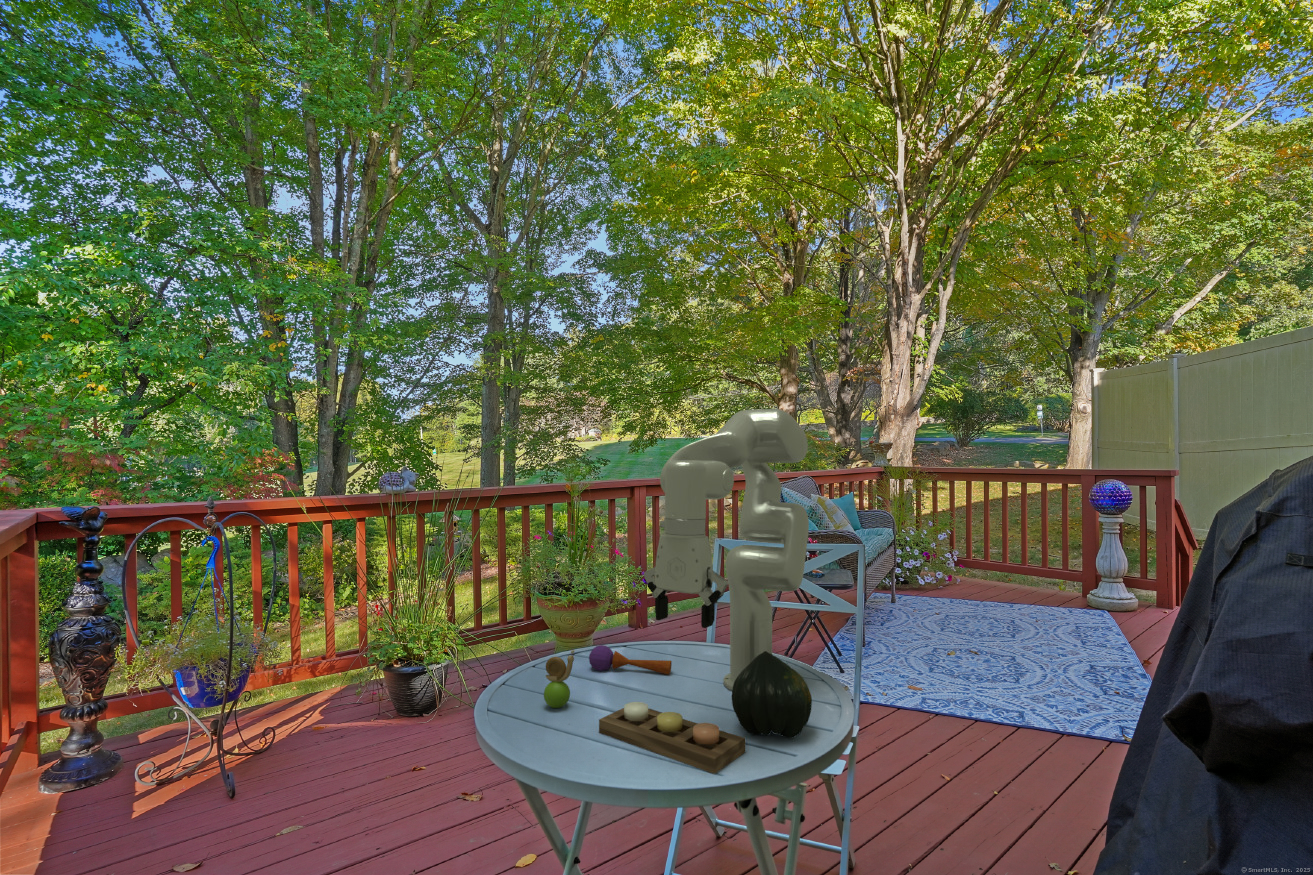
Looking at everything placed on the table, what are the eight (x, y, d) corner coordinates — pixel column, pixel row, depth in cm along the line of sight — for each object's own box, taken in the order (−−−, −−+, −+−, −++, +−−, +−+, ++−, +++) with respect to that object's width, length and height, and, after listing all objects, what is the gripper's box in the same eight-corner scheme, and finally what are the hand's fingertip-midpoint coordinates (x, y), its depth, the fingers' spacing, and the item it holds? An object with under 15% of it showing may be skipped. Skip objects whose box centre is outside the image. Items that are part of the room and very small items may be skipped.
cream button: (634, 709, 129) (634, 699, 129) (653, 714, 126) (653, 705, 126) (619, 716, 126) (619, 707, 126) (637, 722, 123) (637, 713, 123)
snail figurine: (569, 713, 134) (569, 654, 134) (539, 711, 135) (539, 652, 136) (578, 703, 139) (578, 646, 140) (549, 701, 141) (549, 644, 141)
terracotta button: (702, 730, 119) (702, 720, 119) (724, 737, 117) (724, 727, 117) (687, 739, 116) (687, 728, 116) (709, 746, 113) (709, 735, 113)
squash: (795, 728, 114) (806, 647, 123) (714, 716, 121) (731, 640, 130) (812, 758, 123) (821, 680, 133) (736, 745, 130) (750, 672, 139)
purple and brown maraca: (668, 662, 155) (586, 650, 159) (667, 685, 156) (585, 673, 160) (673, 650, 160) (593, 639, 164) (672, 672, 162) (593, 661, 165)
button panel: (632, 715, 133) (632, 703, 133) (745, 752, 117) (745, 737, 117) (599, 732, 125) (599, 719, 125) (714, 773, 109) (714, 758, 109)
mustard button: (667, 719, 124) (667, 709, 124) (687, 725, 121) (687, 715, 122) (652, 727, 121) (652, 717, 121) (672, 734, 118) (672, 724, 118)
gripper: (634, 526, 123) (633, 619, 122) (717, 533, 113) (716, 633, 113) (657, 524, 129) (655, 612, 128) (736, 529, 119) (736, 625, 119)
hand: (684, 622), depth 120 cm, fingers open, 9 cm apart
